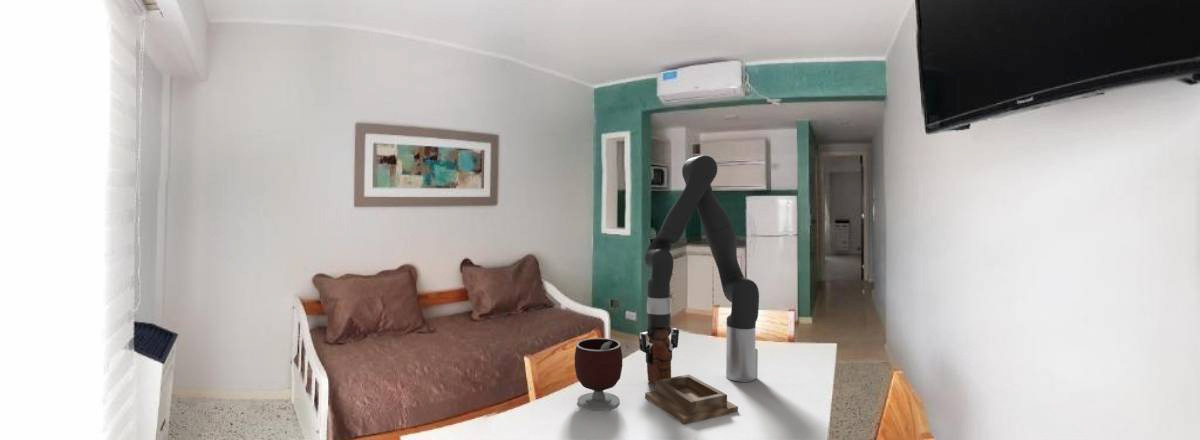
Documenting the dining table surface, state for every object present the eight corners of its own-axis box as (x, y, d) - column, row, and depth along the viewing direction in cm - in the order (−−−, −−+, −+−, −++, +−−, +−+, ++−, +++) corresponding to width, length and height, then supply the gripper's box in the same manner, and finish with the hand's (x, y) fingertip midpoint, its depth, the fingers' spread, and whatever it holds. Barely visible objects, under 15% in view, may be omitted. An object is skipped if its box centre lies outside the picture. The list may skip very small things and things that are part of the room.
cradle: (694, 387, 157) (695, 371, 157) (738, 411, 139) (738, 394, 139) (645, 397, 149) (645, 380, 149) (683, 424, 131) (683, 405, 131)
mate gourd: (568, 397, 150) (567, 330, 149) (610, 390, 155) (610, 326, 154) (587, 417, 135) (587, 344, 135) (633, 409, 141) (633, 338, 140)
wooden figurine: (676, 389, 155) (676, 331, 154) (657, 391, 153) (657, 333, 152) (661, 376, 166) (661, 322, 165) (643, 378, 164) (643, 323, 164)
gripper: (671, 306, 165) (671, 356, 166) (633, 310, 159) (633, 363, 160) (684, 310, 158) (684, 363, 159) (645, 315, 152) (645, 370, 153)
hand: (659, 362), depth 159 cm, fingers closed on wooden figurine, 6 cm apart
